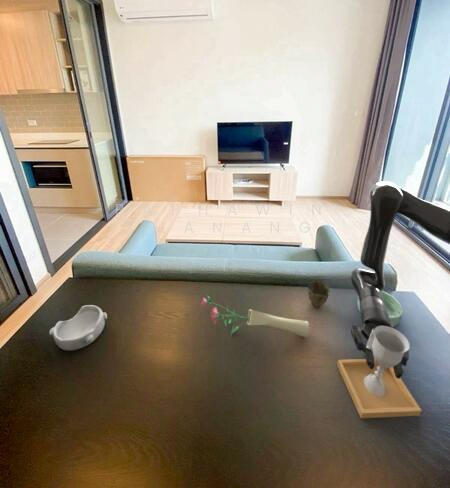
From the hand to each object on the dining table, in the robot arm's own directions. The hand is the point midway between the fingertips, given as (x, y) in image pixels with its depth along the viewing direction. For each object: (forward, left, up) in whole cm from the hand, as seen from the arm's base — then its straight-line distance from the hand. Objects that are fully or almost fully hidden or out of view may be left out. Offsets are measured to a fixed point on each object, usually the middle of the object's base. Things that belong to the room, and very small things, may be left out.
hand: (385, 371), depth 59 cm
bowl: (-17, -26, -10) cm, 33 cm away
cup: (+4, -30, -11) cm, 32 cm away
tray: (-1, -2, -10) cm, 11 cm away
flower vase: (+29, -20, -11) cm, 37 cm away
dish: (+85, -21, -11) cm, 88 cm away
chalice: (-1, -2, -10) cm, 10 cm away
